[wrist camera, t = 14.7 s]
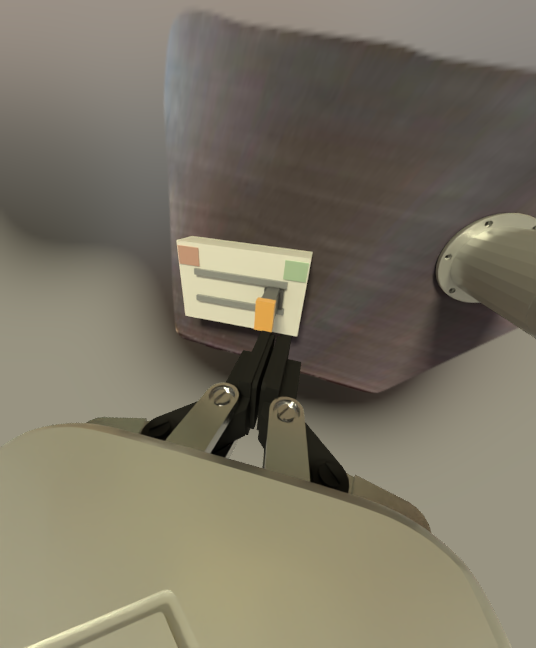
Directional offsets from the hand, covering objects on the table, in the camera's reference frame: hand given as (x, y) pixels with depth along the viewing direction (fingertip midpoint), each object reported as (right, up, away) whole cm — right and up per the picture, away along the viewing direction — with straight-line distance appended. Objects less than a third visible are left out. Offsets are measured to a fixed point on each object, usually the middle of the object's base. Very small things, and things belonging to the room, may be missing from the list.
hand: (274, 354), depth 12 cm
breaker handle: (+1, +6, +25) cm, 25 cm away
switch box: (-4, +10, +30) cm, 32 cm away
